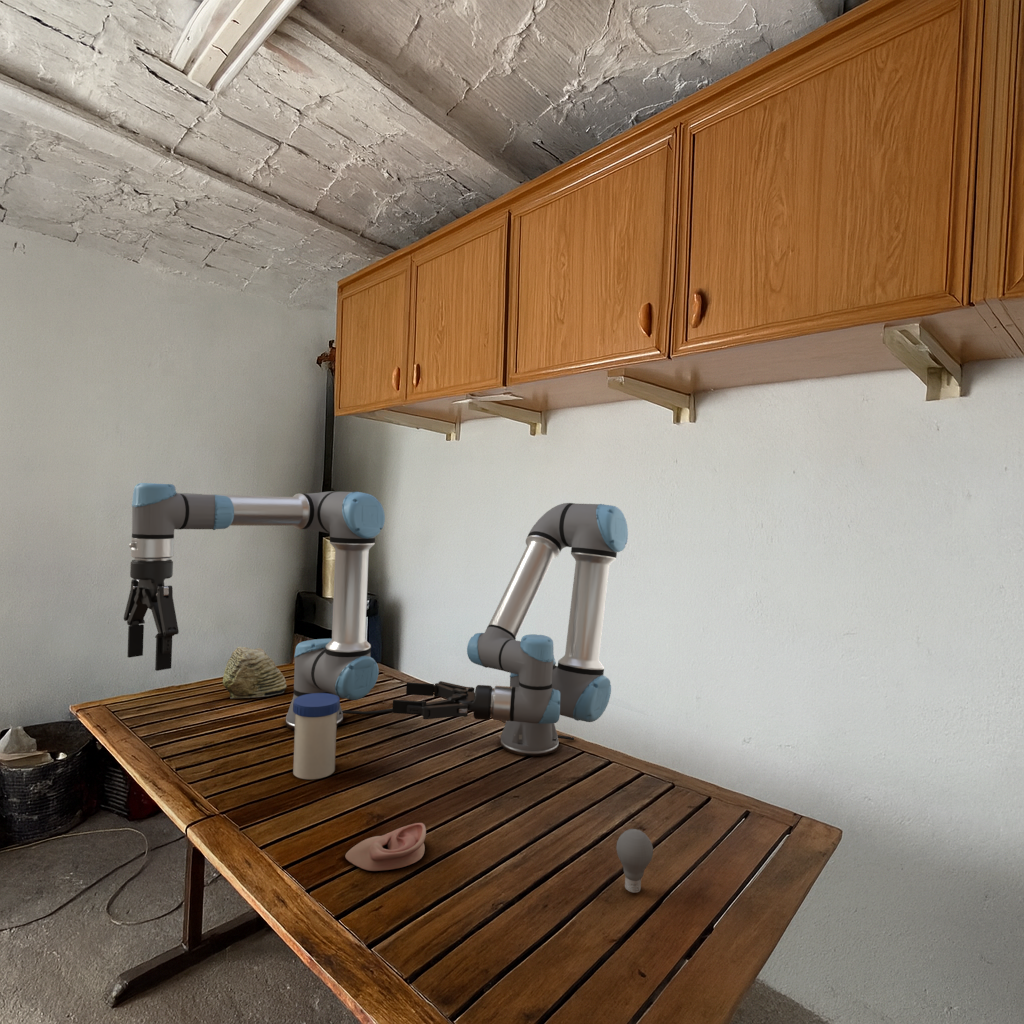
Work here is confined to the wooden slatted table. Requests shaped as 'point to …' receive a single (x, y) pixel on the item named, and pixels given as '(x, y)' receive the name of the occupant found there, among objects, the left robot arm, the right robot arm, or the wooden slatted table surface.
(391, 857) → the anatomical model
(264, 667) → the fossil
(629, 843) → the light bulb
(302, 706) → the lid
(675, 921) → the wooden slatted table surface
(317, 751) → the jar
